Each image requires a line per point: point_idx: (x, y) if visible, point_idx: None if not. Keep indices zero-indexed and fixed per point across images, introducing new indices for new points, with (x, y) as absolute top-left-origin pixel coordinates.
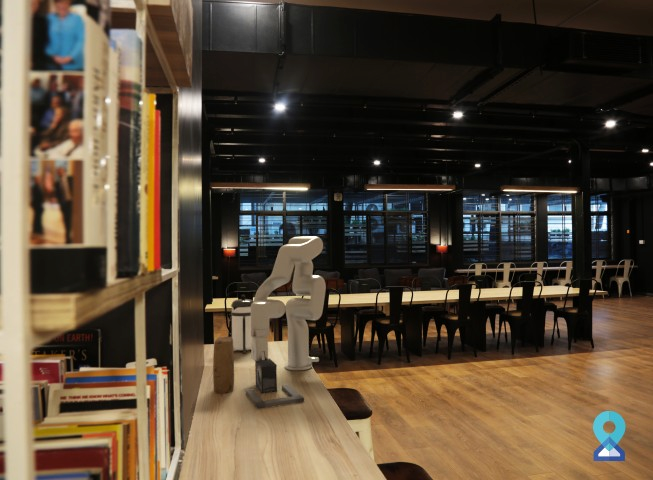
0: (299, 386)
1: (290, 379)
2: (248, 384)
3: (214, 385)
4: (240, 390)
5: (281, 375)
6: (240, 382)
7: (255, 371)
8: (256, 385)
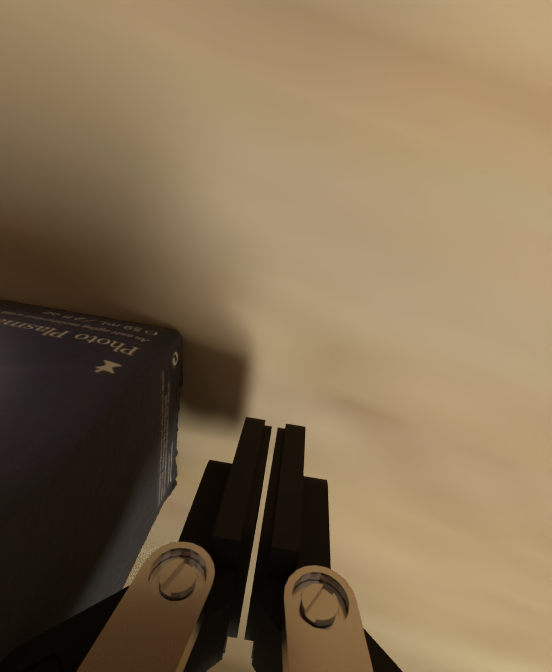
0: None
1: (240, 657)
2: (312, 281)
3: None
4: (89, 67)
5: (411, 663)
6: (483, 214)
7: (40, 441)
8: (100, 323)
